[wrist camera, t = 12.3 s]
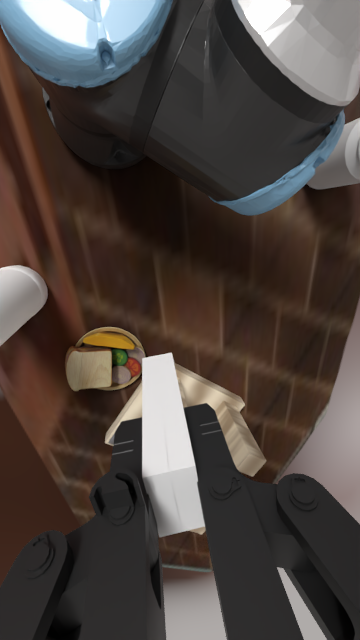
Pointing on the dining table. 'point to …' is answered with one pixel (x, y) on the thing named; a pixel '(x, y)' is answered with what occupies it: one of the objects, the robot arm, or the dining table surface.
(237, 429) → the stool
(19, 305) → the bottle
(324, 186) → the can
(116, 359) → the toy sandwich meal
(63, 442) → the dining table surface
